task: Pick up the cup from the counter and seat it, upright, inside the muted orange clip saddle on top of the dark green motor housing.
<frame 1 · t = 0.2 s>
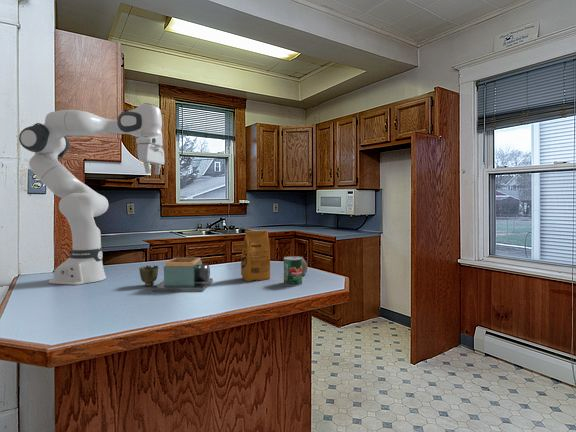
hand: (152, 173, 156), 47 cm above the countertop, fingers open, 8 cm apart
canned tomato: (293, 284, 151), on the countertop
motor mount: (184, 286, 148), on the countertop
coffee package: (255, 279, 161), on the countertop
cup: (149, 286, 149), on the countertop
vase: (300, 275, 167), on the countertop
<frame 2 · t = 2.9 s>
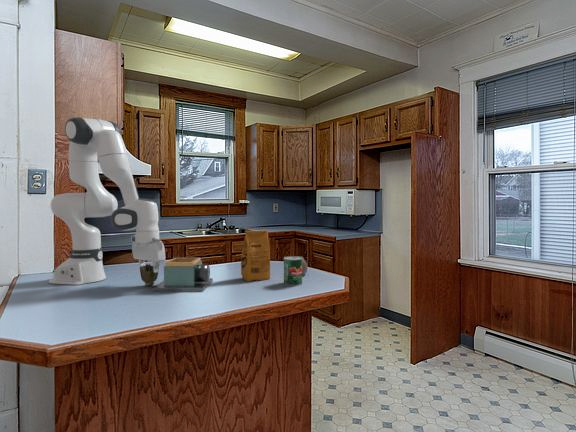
hand: (149, 271, 148), 6 cm above the countertop, fingers open, 8 cm apart
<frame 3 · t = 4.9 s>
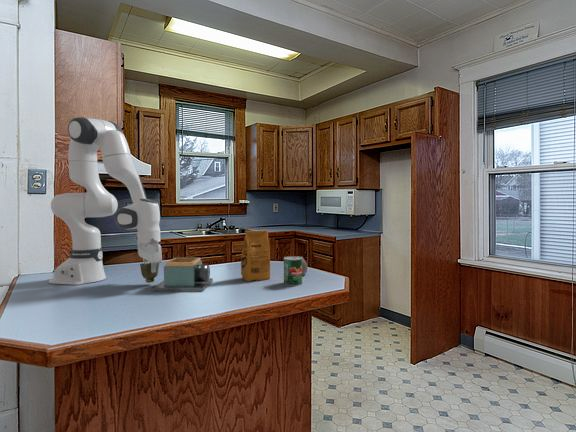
hand: (150, 270, 151), 6 cm above the countertop, fingers closed on cup, 7 cm apart
cup: (150, 282, 151), point 1 cm above the countertop, touching gripper
everything else where it was.
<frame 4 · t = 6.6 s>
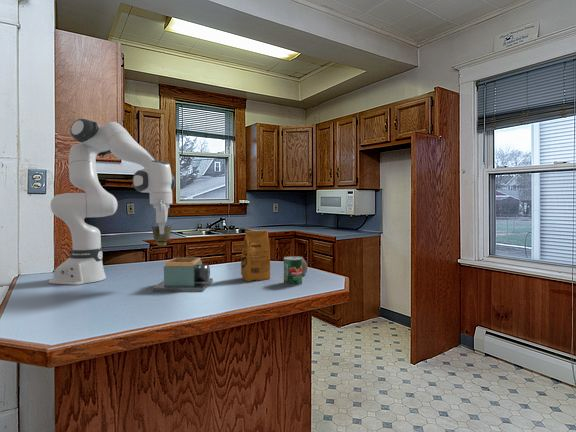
hand: (162, 233, 148), 22 cm above the countertop, fingers closed on cup, 7 cm apart
cup: (161, 245, 148), point 17 cm above the countertop, touching gripper
everything else where it was.
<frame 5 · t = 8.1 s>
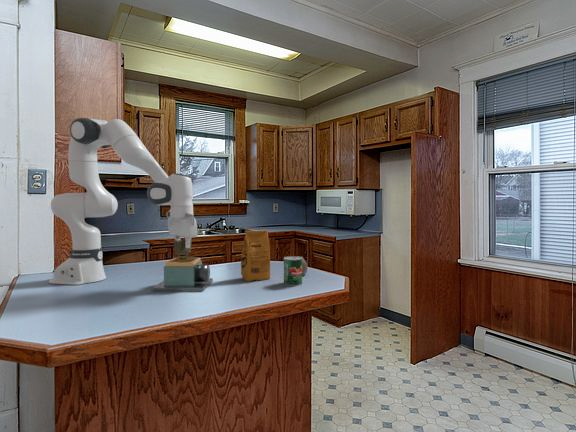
hand: (182, 246, 147), 16 cm above the countertop, fingers closed on cup, 7 cm apart
cup: (182, 259, 147), point 11 cm above the countertop, touching gripper
everything else where it was.
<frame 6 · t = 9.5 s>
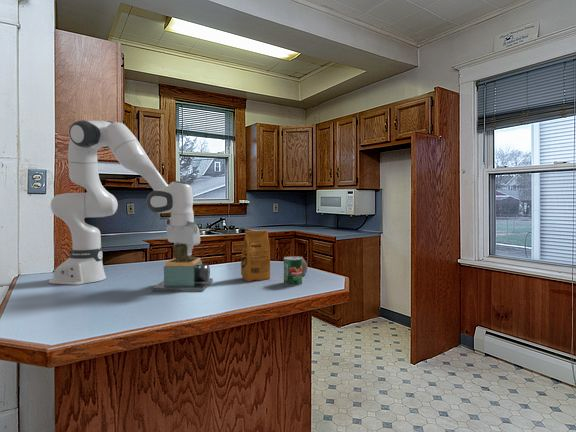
hand: (183, 254, 147), 13 cm above the countertop, fingers closed on cup, 6 cm apart
cup: (182, 264, 147), point 9 cm above the countertop, touching gripper, motor mount
everything else where it was.
when the fingers open (13 cm above the countertop, at t = 9.7 s): cup stays where it is, resting on motor mount.
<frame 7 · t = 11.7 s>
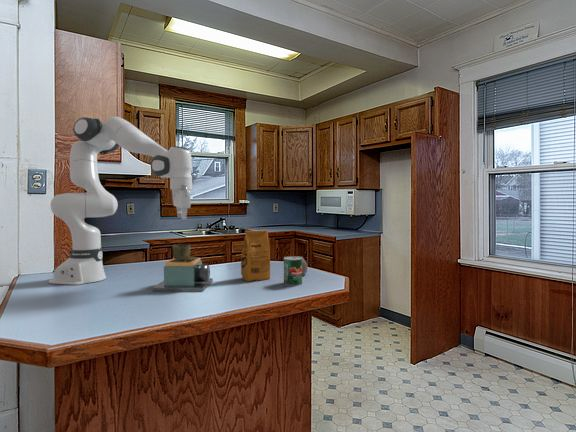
hand: (181, 218, 151), 28 cm above the countertop, fingers open, 8 cm apart
cup: (181, 264, 147), point 9 cm above the countertop, touching motor mount
everything else where it was.
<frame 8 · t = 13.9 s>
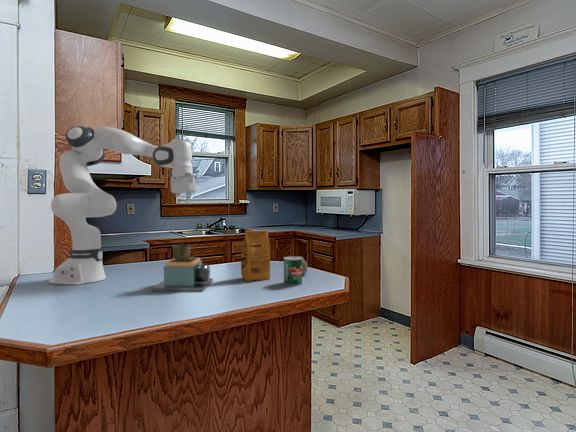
hand: (183, 202, 169), 34 cm above the countertop, fingers open, 8 cm apart
nothing on the countertop moved.
at the end: cup 0.7 cm off-centre on the motor mount, point 9.3 cm above the motor mount's base; cup tilted 0°; the gripper is holding nothing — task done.
